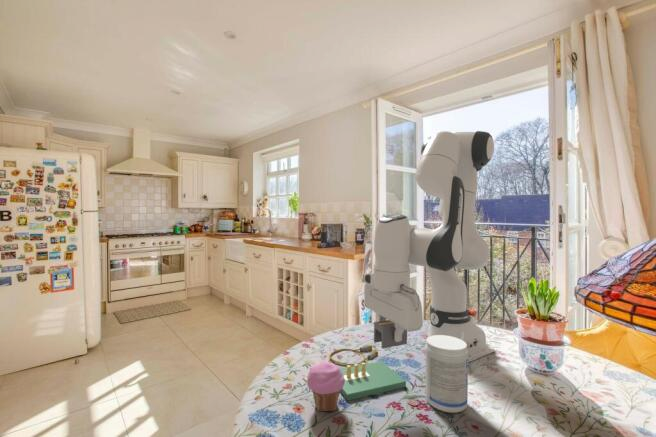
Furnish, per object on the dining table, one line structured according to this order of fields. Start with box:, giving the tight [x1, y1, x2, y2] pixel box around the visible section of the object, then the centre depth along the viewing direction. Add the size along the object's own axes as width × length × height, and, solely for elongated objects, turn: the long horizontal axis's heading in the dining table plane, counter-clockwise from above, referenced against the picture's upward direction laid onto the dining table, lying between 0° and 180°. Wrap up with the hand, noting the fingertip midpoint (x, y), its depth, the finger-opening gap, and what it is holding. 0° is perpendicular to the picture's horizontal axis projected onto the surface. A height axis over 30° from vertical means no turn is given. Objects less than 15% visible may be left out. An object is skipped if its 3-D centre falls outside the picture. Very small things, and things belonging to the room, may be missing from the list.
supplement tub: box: [424, 335, 469, 414], centre depth 76 cm, size 10×10×15 cm
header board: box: [340, 360, 407, 402], centre depth 85 cm, size 17×12×4 cm
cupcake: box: [306, 361, 345, 412], centre depth 74 cm, size 9×9×10 cm
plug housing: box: [373, 319, 408, 349], centre depth 78 cm, size 7×4×5 cm, turn 113°
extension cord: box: [329, 344, 379, 367], centre depth 100 cm, size 12×16×2 cm
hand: (390, 336), depth 78 cm, fingers closed on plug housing, 4 cm apart
